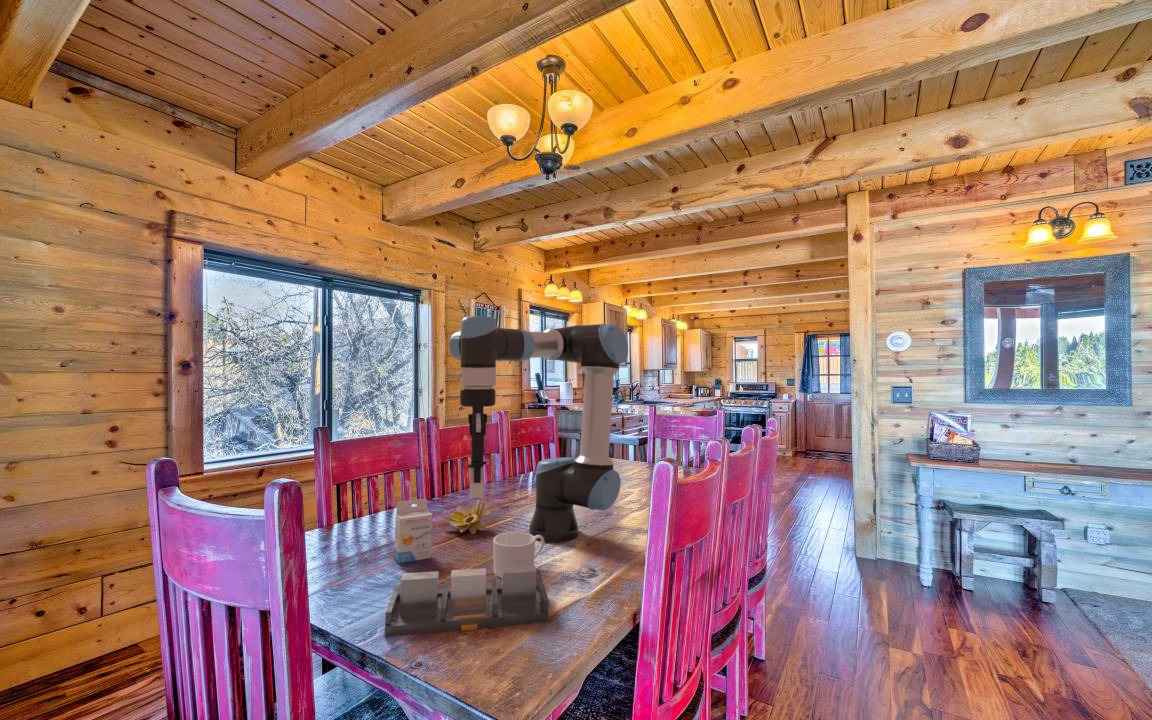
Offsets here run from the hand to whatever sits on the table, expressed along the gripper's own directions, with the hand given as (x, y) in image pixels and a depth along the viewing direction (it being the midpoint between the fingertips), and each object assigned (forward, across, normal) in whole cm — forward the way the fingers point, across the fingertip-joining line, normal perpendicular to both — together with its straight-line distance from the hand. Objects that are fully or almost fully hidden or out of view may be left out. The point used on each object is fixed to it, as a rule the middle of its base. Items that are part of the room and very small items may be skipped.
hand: (476, 496), depth 104 cm
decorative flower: (+24, -48, -2) cm, 54 cm away
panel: (+22, +4, -2) cm, 22 cm away
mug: (+23, -15, +11) cm, 30 cm away
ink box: (+23, -27, -16) cm, 39 cm away
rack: (+23, +4, -1) cm, 23 cm away
